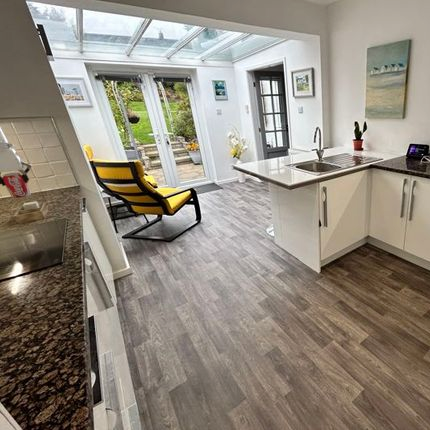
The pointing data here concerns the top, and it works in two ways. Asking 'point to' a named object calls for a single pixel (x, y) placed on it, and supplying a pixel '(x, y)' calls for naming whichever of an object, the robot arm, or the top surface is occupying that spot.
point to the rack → (31, 214)
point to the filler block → (30, 205)
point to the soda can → (16, 185)
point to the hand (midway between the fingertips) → (15, 183)
